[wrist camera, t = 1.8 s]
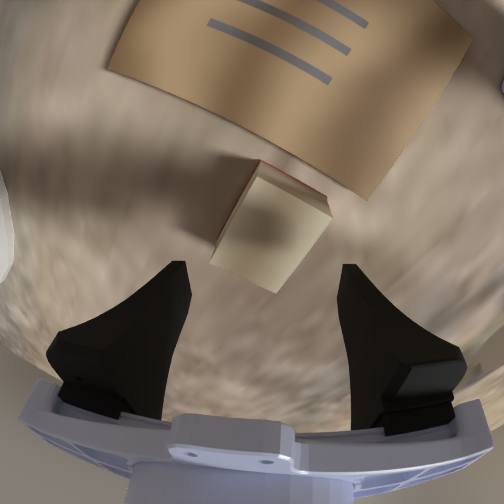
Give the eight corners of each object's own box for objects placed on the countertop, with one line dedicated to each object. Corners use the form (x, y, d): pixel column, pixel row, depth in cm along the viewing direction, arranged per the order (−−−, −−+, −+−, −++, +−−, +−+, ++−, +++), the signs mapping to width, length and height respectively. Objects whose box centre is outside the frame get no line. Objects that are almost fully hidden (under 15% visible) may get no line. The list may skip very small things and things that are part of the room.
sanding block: (326, 195, 18) (334, 217, 15) (277, 264, 21) (276, 294, 18) (260, 158, 17) (256, 175, 14) (218, 235, 20) (208, 263, 17)
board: (463, 40, 10) (473, 39, 9) (361, 193, 17) (366, 200, 16) (217, -92, 7) (214, -101, 6) (117, 68, 14) (107, 69, 13)
